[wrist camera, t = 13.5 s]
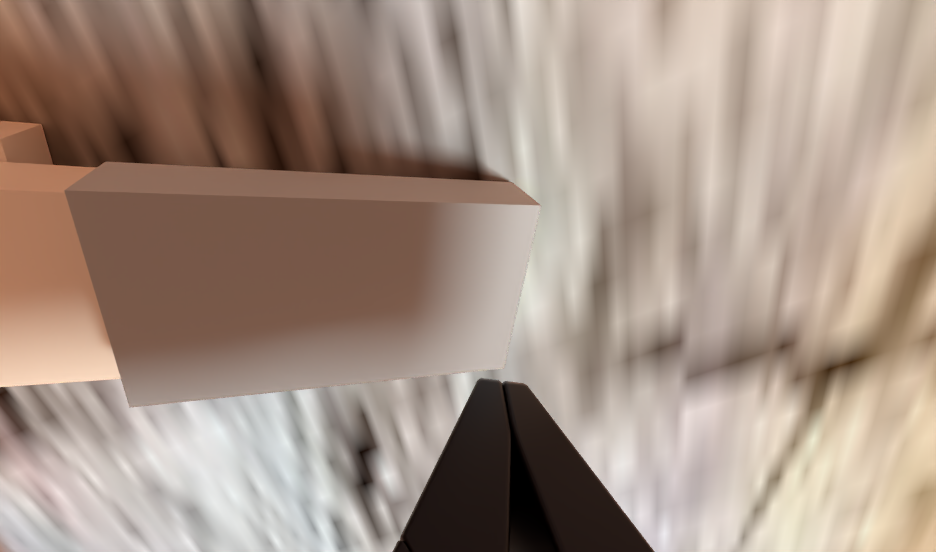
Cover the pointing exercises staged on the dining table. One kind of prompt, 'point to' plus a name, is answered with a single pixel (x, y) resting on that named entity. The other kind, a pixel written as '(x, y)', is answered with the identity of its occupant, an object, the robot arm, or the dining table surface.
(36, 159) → the domino
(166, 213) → the domino
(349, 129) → the dining table surface
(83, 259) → the domino
